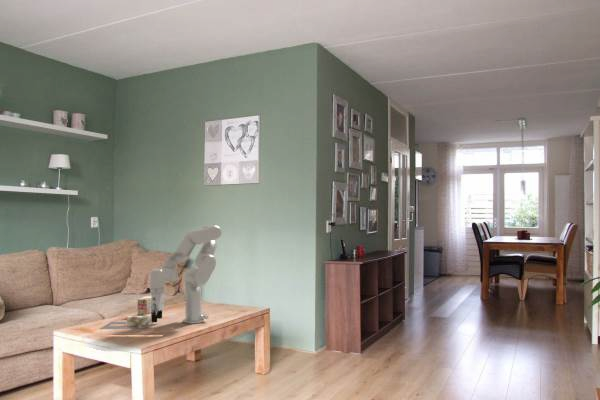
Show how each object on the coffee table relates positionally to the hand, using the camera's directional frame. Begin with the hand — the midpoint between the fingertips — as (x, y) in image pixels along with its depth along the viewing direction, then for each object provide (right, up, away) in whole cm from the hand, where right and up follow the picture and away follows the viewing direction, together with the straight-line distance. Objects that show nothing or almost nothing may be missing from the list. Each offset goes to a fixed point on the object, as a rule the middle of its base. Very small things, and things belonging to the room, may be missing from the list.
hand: (156, 320), depth 288 cm
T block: (-11, -3, 0) cm, 11 cm away
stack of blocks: (-14, -5, +33) cm, 36 cm away
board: (-17, -4, 0) cm, 17 cm away
